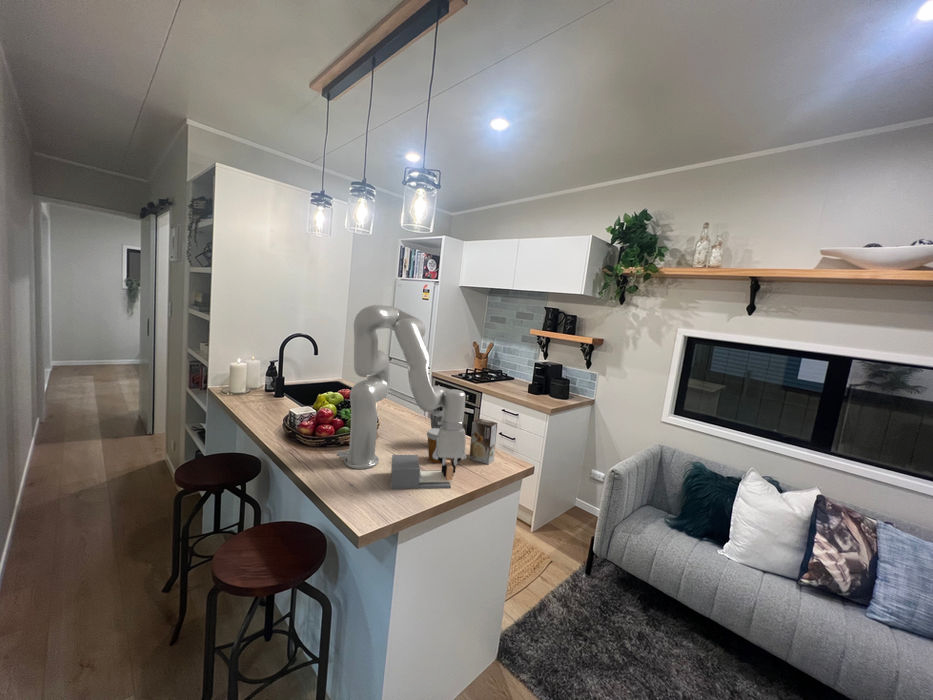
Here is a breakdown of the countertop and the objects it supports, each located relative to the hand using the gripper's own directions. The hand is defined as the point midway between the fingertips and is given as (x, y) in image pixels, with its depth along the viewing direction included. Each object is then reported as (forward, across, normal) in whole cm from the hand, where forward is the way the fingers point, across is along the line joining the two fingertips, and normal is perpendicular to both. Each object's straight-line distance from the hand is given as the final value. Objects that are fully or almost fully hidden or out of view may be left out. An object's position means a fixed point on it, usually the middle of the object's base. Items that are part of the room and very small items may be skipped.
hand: (448, 474), depth 133 cm
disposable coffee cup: (+2, -2, +17) cm, 17 cm away
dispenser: (+2, -10, 0) cm, 10 cm away
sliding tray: (+1, -8, 0) cm, 8 cm away
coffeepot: (+2, +1, +33) cm, 33 cm away
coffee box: (+2, +17, +18) cm, 25 cm away
